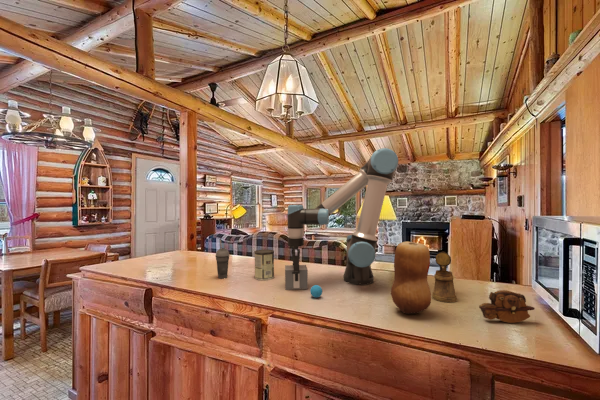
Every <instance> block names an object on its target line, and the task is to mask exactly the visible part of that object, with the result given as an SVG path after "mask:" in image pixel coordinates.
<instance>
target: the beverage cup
mask: <svg viewBox="0 0 600 400" xmlns="http://www.w3.org/2000/svg"><path fill="white" fill-rule="evenodd" d="M219 243H220V248H219V249H218V250H217V251H216V253H215V260H216V269H217V278H219V280H225V279H227V278H228V272H229V271H228V270H229V260H230V256H231V255H230V251H229V250H228V249H227V248H224V247H222V239H219ZM224 278H225V279H224Z"/></svg>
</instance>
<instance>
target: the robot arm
mask: <svg viewBox="0 0 600 400" xmlns="http://www.w3.org/2000/svg"><path fill="white" fill-rule="evenodd" d="M398 166H399V157H398V155H397V153H396V152H395V151H394V150H393V149H390V148H387V147H382V148H378V149H376V150H375V151H374V152H373V153H372V154H371V156H370V157H369V159H368V160H367V161H366V163H365V164H364V165H362V167H361V168H360V169H359V172H358V173H356V174H355V175H353V177H351V178H350V179H349V180H348V181H347V182H346V183H344V184H343V185H342V186H340V187H339V188H338V189H337V190H336V191H334V192H333V193H332V194H331V195H330V196H328V197H327V198H325V200H324V201H322V202H321V203H320V204H319V205H318V206H316V207H315V208H305V207H304V204H289V205H288V206H287V218H286V219H287V230H286V233H287V237H288V238H287V246H289V247H292V248H291V257H292V258H291V260H292V265H294V272H292V274H293V285H294V288H300V282H299V273H300V271H299V265H300V259H301V256H300V255H301V248H299V247H303V246H304V242H305V241H304V239H305V238H304V236H305V235H304V234H305V233H304V232H305V229H304V225H305V226H306V225H312V226H313V225H314V226H317V225H318V226H325V225H328V224H329V223H330V221H329V220H330V218H329V217H330V216H331V215H332V214H333V213H335V212H336V211H337V210H338V209H340V208H341V207H342V206H343V205H344V204H346V203H347V202H348V201H350V200H351V199H352V198H353V197H354V196H356V195H357V194H358V193H359V192H361V190H363V189H364V188H365V187H366V190H365V194H364V198H363V202H362V205H361V206H362V207H361V211H360V215H359V218H358V224H357V227H356V231H353V232H352V233H351V234H349V235H347V236H346V267H345V269H344V273H343V276H342V277H343V278H342V281H343V282H345V283H348V284H351V285H361V286H362V285H370V284H373V283H374V282H375V275H374V273H373V270H372V267H371V265H372V264H373V263H374V261H375V260H376V248H377V244H378V239H377V236H376V233H377V230H378V224H379V222H380V216H381V213H382V209H383V205H384V200H385V196H386V192H387V189H388V188H387V187H388V185H389V184H390V183H392V181H393V178H394V174H395V171H396V169H397V168H398ZM295 270H298V271H295Z"/></svg>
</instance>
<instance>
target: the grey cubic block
mask: <svg viewBox="0 0 600 400" xmlns="http://www.w3.org/2000/svg"><path fill="white" fill-rule="evenodd" d="M295 271H298V270H295ZM299 271H300V273H299V282H300V288H294V285H293V274H292V272H294V265H293V264H292V265H290V264H286V265H284V274H285V275H284V281H285V282H284V283H285V284H284V286H285V287H284V289H285V290H286V291H287V290H289V291H291V290H295V291H296V290H309V288H308V287H309V284H308V283H309V281H308V280H309V279H308V276H309V274H308V272H309V271H308V267H307V265H306V264H299Z"/></svg>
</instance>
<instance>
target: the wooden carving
mask: <svg viewBox="0 0 600 400" xmlns="http://www.w3.org/2000/svg"><path fill="white" fill-rule="evenodd" d="M488 299H489V300H490V302H483V303H482V304H480V305H478V308H479V309H480V312H481V313H482V317H483V318H485V319H487V320H489V321H491V320H495V319H497V320H499V321H501V322H504V323H508V324H509V323H510V324H511V323H512V324H513V323H514V324H515V323H520V322H524V321H525V320H527V319H529V318H530V317H531V314H530V313H529V311H535V309H536V307H534V306H530V305H527V303H526V302H527V299H526V297H525V295H524V294H521V293H519V292H518V293H517V292H515V291H514V292H513V291H510V290H507V289H502V290H501V289H499V290H497V291H494V292H493V291H490V293H489V295H488Z"/></svg>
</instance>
